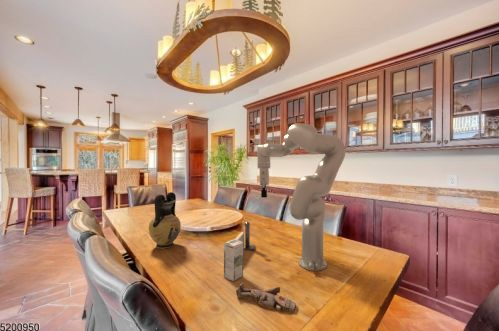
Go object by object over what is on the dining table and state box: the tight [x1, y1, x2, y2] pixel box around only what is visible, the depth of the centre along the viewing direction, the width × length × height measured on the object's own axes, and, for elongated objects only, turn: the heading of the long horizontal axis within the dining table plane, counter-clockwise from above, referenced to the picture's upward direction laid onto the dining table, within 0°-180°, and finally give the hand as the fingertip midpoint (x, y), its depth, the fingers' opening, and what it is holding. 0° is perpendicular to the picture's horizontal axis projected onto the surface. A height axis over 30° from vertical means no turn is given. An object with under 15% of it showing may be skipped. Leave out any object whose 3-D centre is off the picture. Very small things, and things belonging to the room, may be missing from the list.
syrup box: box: [223, 238, 244, 282], centre depth 93 cm, size 6×6×14 cm
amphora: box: [148, 191, 182, 249], centre depth 128 cm, size 18×17×30 cm
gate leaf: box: [234, 231, 245, 249], centre depth 116 cm, size 2×19×8 cm, turn 166°
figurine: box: [235, 282, 297, 314], centre depth 77 cm, size 7×5×20 cm
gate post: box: [244, 221, 256, 251], centre depth 123 cm, size 5×5×15 cm
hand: (264, 197), depth 132 cm, fingers closed
